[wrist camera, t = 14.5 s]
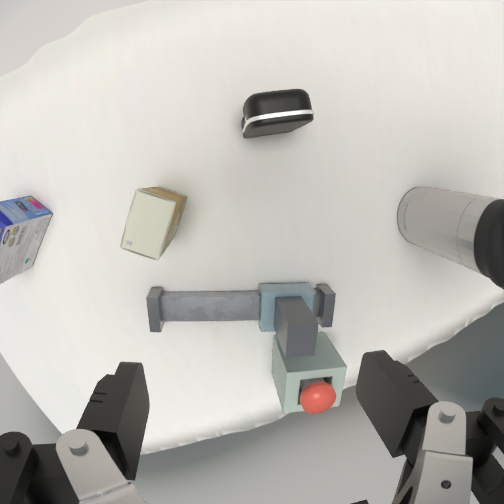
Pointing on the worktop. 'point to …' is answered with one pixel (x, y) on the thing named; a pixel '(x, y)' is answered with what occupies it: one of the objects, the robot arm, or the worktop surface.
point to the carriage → (289, 317)
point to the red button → (316, 395)
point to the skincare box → (152, 221)
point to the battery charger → (276, 112)
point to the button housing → (306, 372)
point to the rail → (224, 306)
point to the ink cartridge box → (20, 234)
